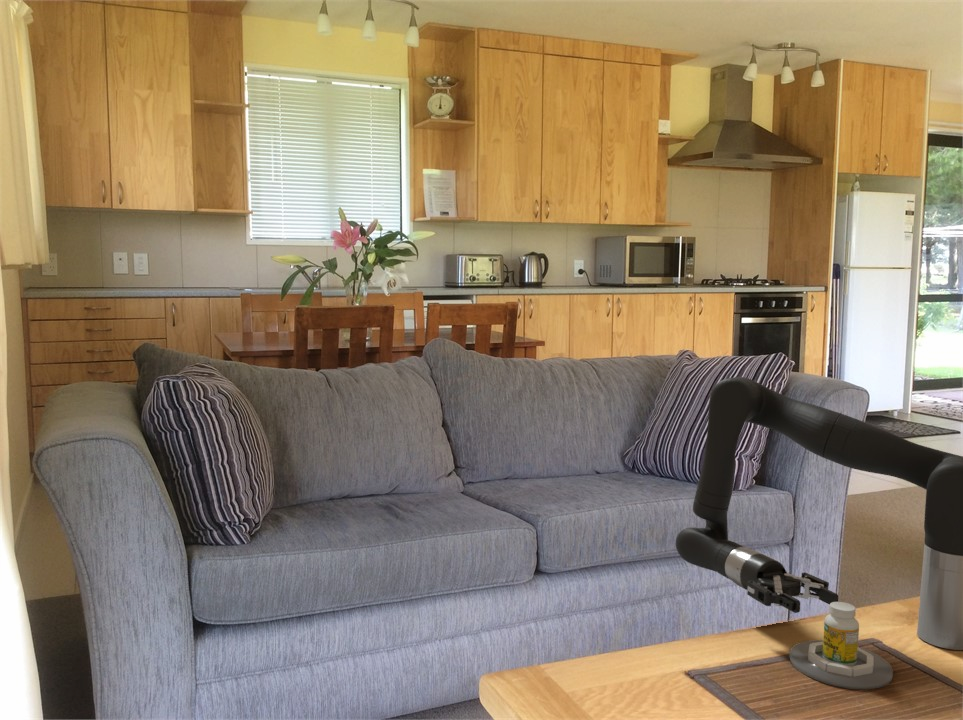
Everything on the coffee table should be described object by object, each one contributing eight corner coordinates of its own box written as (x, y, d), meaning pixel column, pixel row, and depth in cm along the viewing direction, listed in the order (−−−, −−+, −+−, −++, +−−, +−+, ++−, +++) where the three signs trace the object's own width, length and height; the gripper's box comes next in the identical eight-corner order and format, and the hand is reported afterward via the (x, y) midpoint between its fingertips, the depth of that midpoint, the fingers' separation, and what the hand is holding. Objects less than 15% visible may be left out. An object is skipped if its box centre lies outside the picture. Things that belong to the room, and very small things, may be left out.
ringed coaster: (793, 637, 153) (794, 627, 153) (891, 656, 146) (892, 645, 146) (785, 675, 139) (786, 664, 138) (893, 698, 132) (894, 686, 132)
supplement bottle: (863, 666, 141) (867, 610, 140) (837, 670, 139) (840, 614, 138) (841, 651, 146) (844, 598, 145) (815, 655, 144) (818, 601, 143)
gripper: (725, 557, 158) (787, 588, 144) (785, 549, 164) (850, 578, 149) (723, 595, 159) (784, 630, 144) (782, 586, 165) (847, 619, 150)
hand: (817, 604), depth 147 cm, fingers open, 8 cm apart
